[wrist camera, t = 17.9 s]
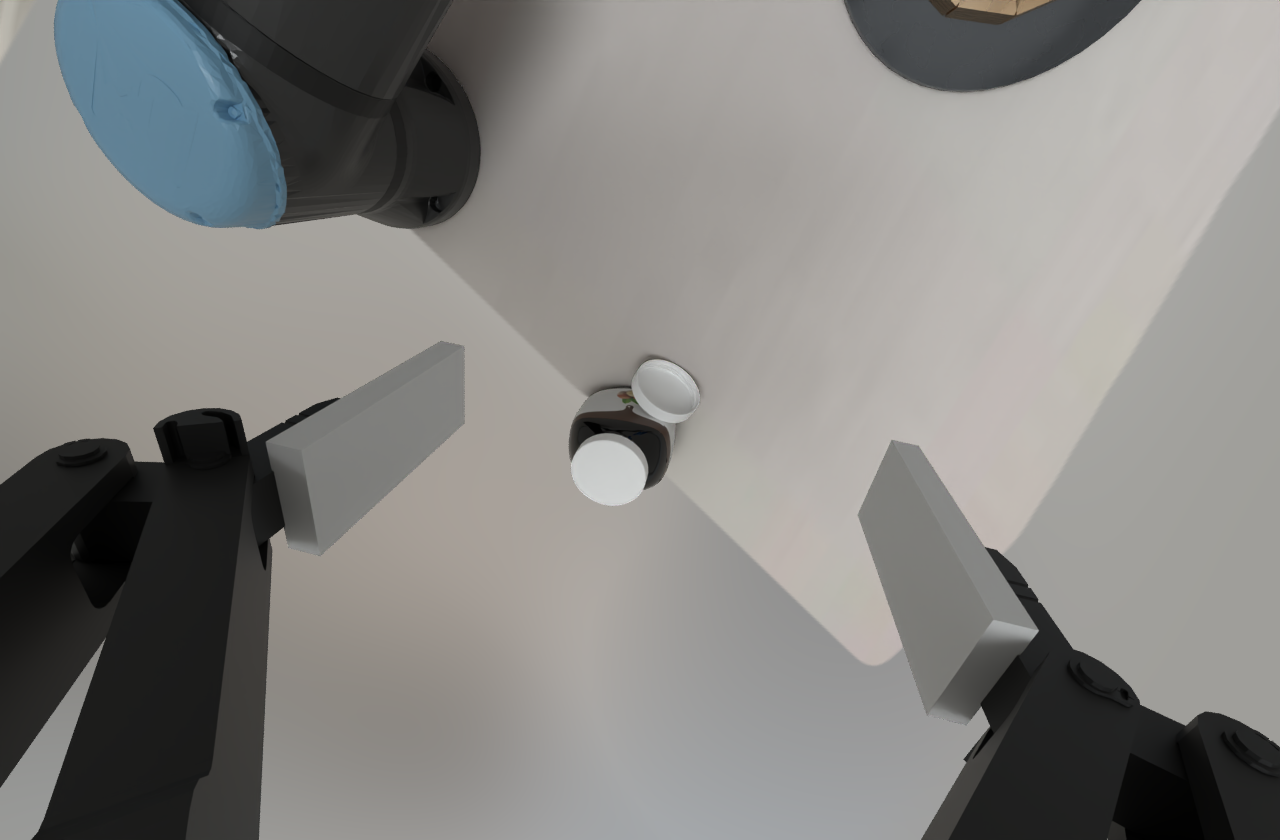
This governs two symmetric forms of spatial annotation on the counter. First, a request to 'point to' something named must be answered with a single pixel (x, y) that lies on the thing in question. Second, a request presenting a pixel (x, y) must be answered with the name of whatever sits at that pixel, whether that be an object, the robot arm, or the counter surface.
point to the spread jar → (630, 433)
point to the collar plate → (980, 37)
